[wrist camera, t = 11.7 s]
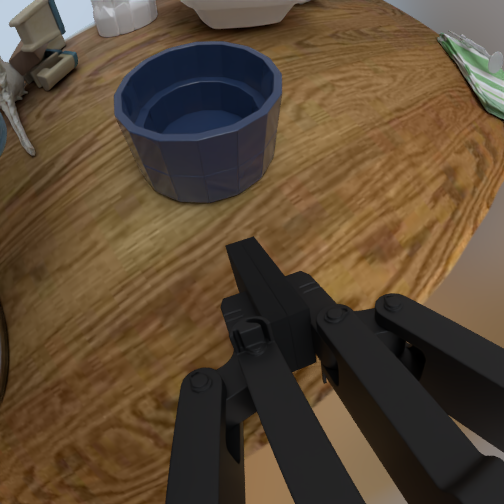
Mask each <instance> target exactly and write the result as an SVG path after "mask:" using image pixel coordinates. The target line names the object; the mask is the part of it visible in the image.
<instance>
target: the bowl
mask: <svg viewBox="0 0 504 504" xmlns="http://www.w3.org/2000/svg"><path fill="white" fill-rule="evenodd" d="M180 1H181V2H182V3H184V4H185V5H186V6H188V7H190V8H193V9H194V10H195V11H196V13H197V14H198V16H199V17H200V19H201V20H202V21H203V22H204V23H205V24H207V25H208V26H209V27H211V28H214V29H226V28H243V27H253V26H261V25H267V24H273V23H278V22H281V21H282V19H283V18H284V17H285V15H286V14H287V13H288V12H289V10H290V9H291V8H292V7H293V5H294V4H297V3H303V2H306V0H180Z"/></svg>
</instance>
